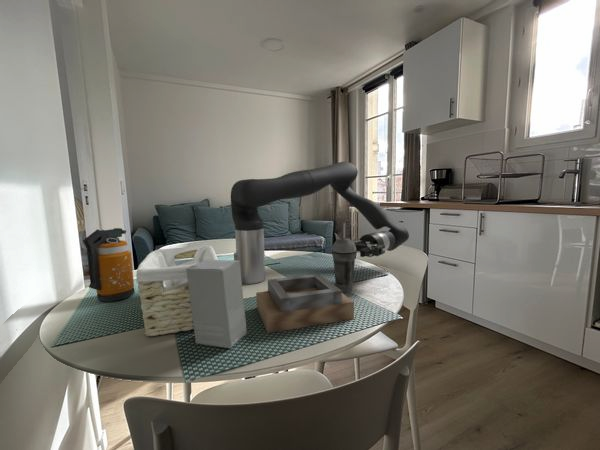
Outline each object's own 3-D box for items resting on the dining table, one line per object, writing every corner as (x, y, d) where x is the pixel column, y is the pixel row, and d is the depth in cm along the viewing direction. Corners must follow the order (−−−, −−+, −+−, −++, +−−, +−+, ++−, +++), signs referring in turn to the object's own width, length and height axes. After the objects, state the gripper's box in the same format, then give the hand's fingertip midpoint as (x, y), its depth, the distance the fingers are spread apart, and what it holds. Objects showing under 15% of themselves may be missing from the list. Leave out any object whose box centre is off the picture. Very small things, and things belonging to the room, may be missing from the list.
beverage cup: (355, 285, 88) (355, 221, 86) (357, 294, 81) (358, 223, 78) (331, 285, 89) (331, 221, 86) (331, 293, 81) (331, 224, 79)
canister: (141, 294, 84) (135, 226, 82) (102, 308, 74) (94, 232, 72) (122, 290, 88) (115, 225, 86) (82, 303, 78) (74, 230, 76)
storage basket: (154, 301, 79) (150, 248, 77) (215, 292, 84) (213, 243, 83) (139, 343, 57) (132, 270, 55) (223, 328, 62) (219, 262, 60)
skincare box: (247, 334, 59) (244, 259, 57) (228, 352, 52) (223, 268, 51) (212, 328, 62) (208, 256, 60) (190, 345, 55) (184, 265, 53)
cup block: (267, 333, 59) (266, 300, 59) (256, 307, 73) (255, 280, 72) (353, 318, 65) (353, 289, 64) (329, 297, 79) (329, 272, 78)
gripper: (356, 231, 102) (329, 237, 90) (394, 234, 92) (370, 241, 80) (355, 252, 102) (329, 260, 90) (394, 257, 93) (370, 267, 81)
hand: (348, 251), depth 85 cm, fingers open, 8 cm apart
